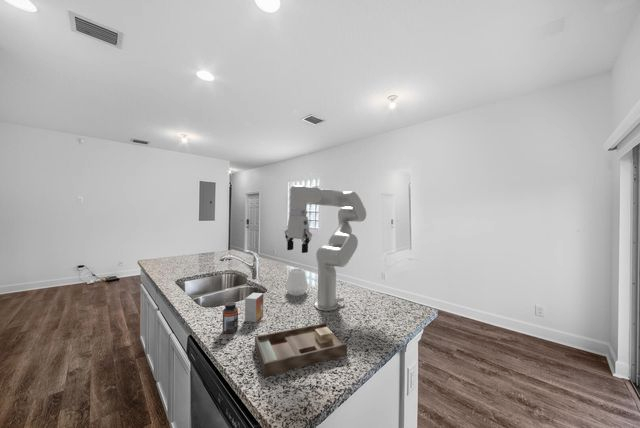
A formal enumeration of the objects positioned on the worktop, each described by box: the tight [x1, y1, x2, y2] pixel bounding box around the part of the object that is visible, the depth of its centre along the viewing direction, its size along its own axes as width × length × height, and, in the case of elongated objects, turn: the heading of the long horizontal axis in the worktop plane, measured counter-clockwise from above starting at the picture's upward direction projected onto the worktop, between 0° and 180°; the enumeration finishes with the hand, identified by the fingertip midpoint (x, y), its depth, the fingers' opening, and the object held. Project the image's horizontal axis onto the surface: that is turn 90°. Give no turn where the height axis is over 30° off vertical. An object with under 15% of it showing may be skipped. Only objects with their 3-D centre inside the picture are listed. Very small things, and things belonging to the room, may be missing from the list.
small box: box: [244, 292, 264, 323], centre depth 113 cm, size 8×6×10 cm
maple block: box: [315, 326, 334, 344], centre depth 91 cm, size 5×5×3 cm
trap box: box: [254, 322, 348, 378], centre depth 88 cm, size 29×17×4 cm, turn 114°
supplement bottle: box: [222, 301, 239, 334], centre depth 102 cm, size 6×6×11 cm
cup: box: [285, 268, 309, 297], centre depth 148 cm, size 13×13×14 cm
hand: (297, 251), depth 111 cm, fingers open, 9 cm apart
